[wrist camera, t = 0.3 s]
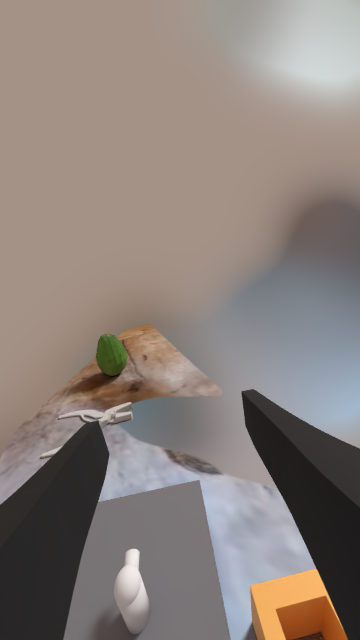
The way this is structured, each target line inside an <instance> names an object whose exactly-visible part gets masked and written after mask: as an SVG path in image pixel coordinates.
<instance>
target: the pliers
mask: <svg viewBox="0 0 360 640" xmlns="http://www.w3.org/2000/svg"><path fill="white" fill-rule="evenodd" d="M131 410H133V409H132V405H131V402H129V403H126V404H122V405H119V406H116V407H113V408H111V409H109V410H106V412H105V413H102V412H98V411H96V410H81V411H75V412H71V413H67V414H64V415H62V416H59V419H63V418H68V417H74V416H81V417H82V419H83V420H84V421H86V422H91V420H88V419H85V418H84V416H89V417H92V418H95V419H99V420H97V421H99V424H100V427H101V428H103V427H105V426H106V425H107V424H110V423H118V424H119V423H123V422H127V421H131V420H132V419H133V416H132V412H129V411H131ZM100 418H101V419H100ZM61 447H62V446H61ZM61 447H59V448H56V449H54V450H51V451H49V452H46V453H43V454H42V455H41V458H45V457H50V456H53V455H54V454H55V453H56V452H57V451H58V450H59V449H60V448H61Z"/></svg>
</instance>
